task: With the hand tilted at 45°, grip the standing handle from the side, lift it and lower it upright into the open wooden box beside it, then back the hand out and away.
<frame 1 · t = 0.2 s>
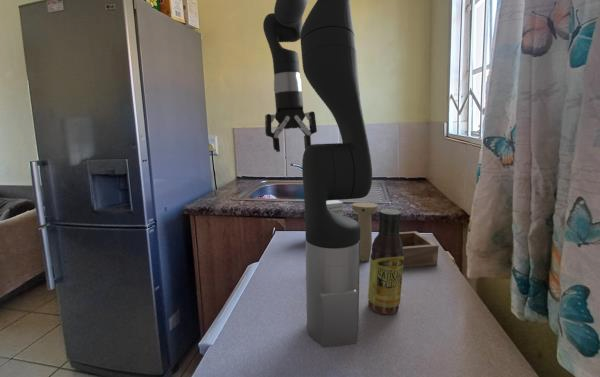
hand: (292, 150, 97), 28 cm above the countertop, tool pointing down, fingers open, 8 cm apart
open wooden box: (405, 257, 92), on the countertop
sauce bottle: (384, 308, 69), on the countertop
supplement box: (327, 240, 106), on the countertop
handle: (363, 260, 91), on the countertop
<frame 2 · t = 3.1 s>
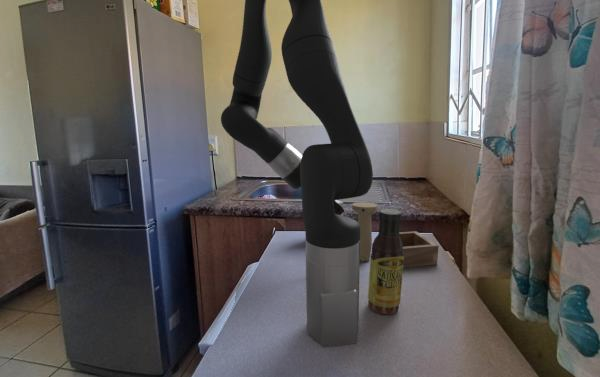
hand: (336, 208, 87), 14 cm above the countertop, tool tilted 45°, fingers open, 8 cm apart
nothing on the countertop moved.
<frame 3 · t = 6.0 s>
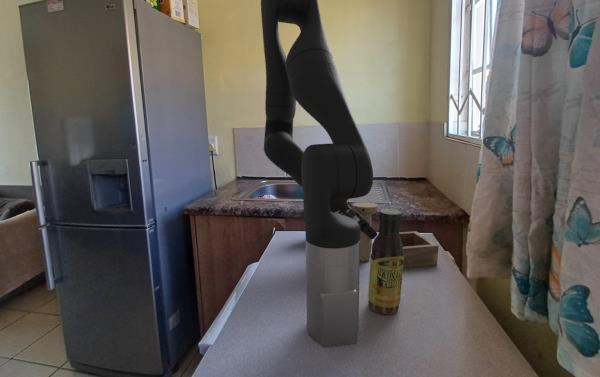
hand: (371, 233, 90), 7 cm above the countertop, tool tilted 45°, fingers closed on handle, 3 cm apart
handle: (363, 260, 91), on the countertop, touching gripper
everything else where it was.
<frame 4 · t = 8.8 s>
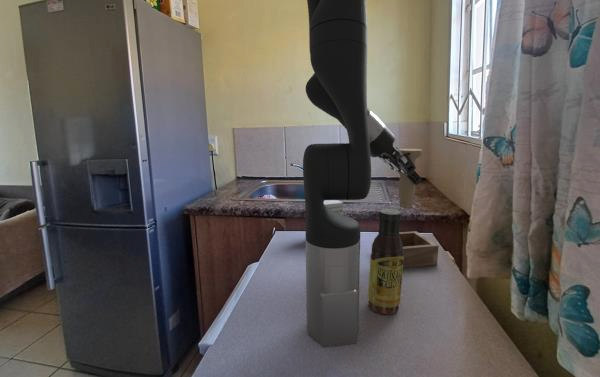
hand: (414, 180, 88), 21 cm above the countertop, tool tilted 45°, fingers closed on handle, 3 cm apart
handle: (405, 208, 90), point 14 cm above the countertop, touching gripper
everything else where it was.
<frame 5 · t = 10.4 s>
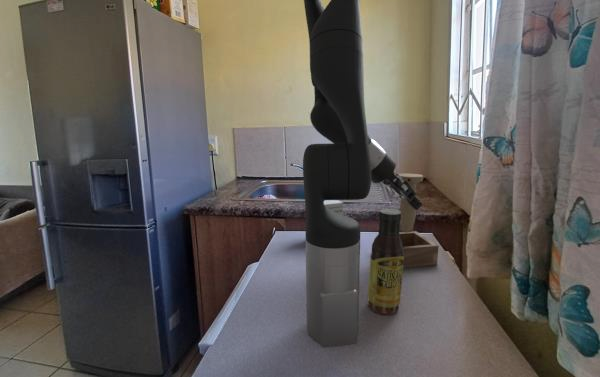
hand: (415, 205, 90), 14 cm above the countertop, tool tilted 45°, fingers closed on handle, 3 cm apart
handle: (406, 231, 91), point 7 cm above the countertop, touching gripper
everything else where it was.
when the fingers open (10 cm above the countertop, at t = 11.6 s): handle drops 2 cm, resting on open wooden box.
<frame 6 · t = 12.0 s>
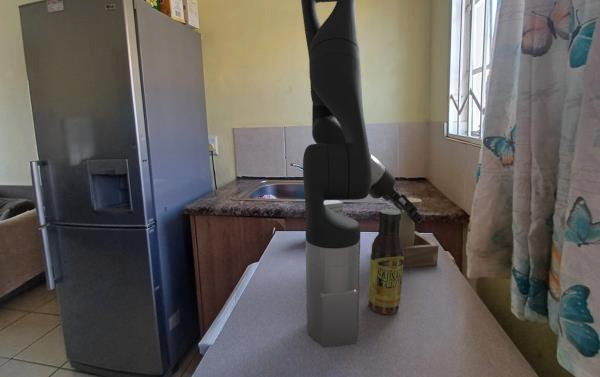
hand: (413, 218, 90), 11 cm above the countertop, tool tilted 45°, fingers open, 6 cm apart
handle: (405, 255, 92), point 1 cm above the countertop, touching open wooden box
everything else where it was.
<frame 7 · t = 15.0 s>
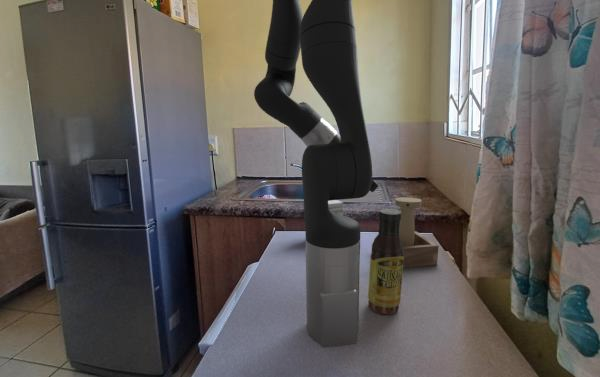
hand: (368, 185, 86), 20 cm above the countertop, tool tilted 45°, fingers open, 8 cm apart
nothing on the countertop moved.
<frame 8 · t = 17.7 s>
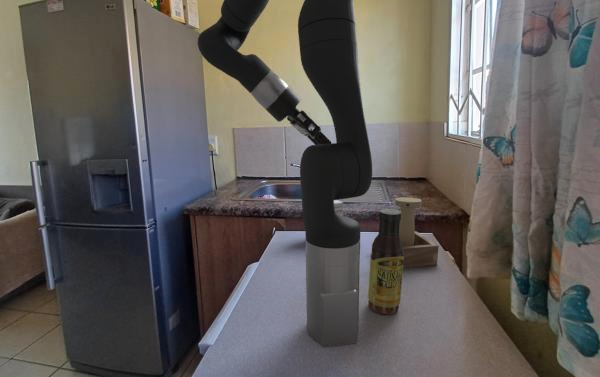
hand: (324, 144, 83), 31 cm above the countertop, tool tilted 45°, fingers open, 8 cm apart
nothing on the countertop moved.
at the end: handle 0.4 cm off-centre on the open wooden box, point 0.8 cm above the open wooden box's base; handle tilted 0°; the gripper is holding nothing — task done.
